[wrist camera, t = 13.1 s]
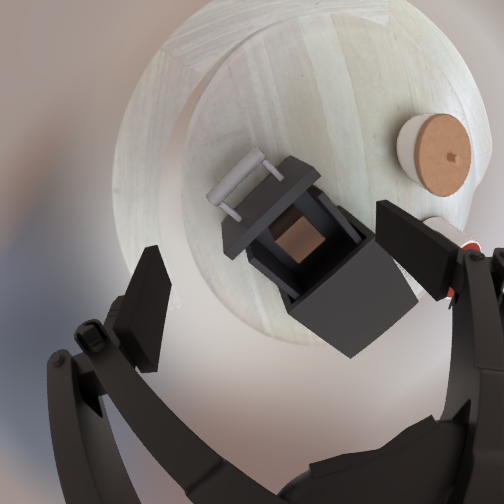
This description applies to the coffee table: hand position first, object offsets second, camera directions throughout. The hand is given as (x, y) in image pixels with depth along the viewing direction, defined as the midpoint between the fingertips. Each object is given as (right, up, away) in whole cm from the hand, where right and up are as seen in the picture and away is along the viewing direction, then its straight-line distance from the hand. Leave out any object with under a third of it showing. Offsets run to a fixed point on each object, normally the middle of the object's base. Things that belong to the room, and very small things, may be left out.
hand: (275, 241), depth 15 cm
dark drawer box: (+11, -3, +24) cm, 27 cm away
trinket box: (+22, +15, +17) cm, 31 cm away
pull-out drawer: (+2, +4, +18) cm, 19 cm away
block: (+3, +3, +18) cm, 18 cm away
